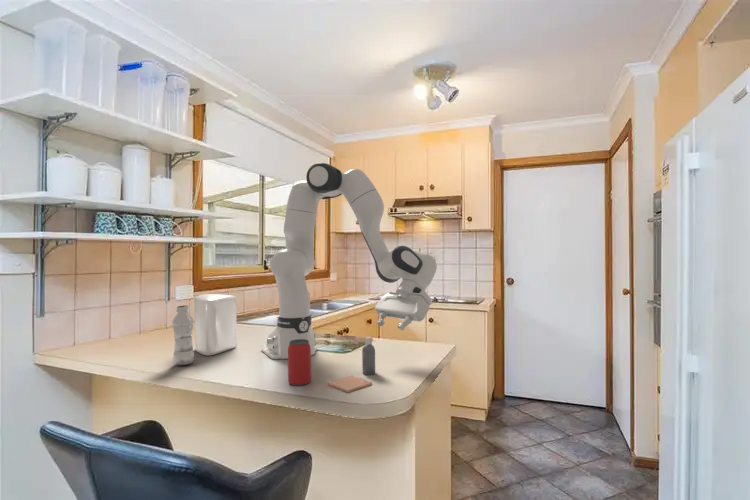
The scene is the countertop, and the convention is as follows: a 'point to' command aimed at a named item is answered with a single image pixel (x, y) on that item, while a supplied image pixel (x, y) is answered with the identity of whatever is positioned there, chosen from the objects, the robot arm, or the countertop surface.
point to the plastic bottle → (183, 336)
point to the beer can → (299, 362)
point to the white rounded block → (215, 323)
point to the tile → (349, 383)
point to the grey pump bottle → (368, 357)
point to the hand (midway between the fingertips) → (389, 326)
